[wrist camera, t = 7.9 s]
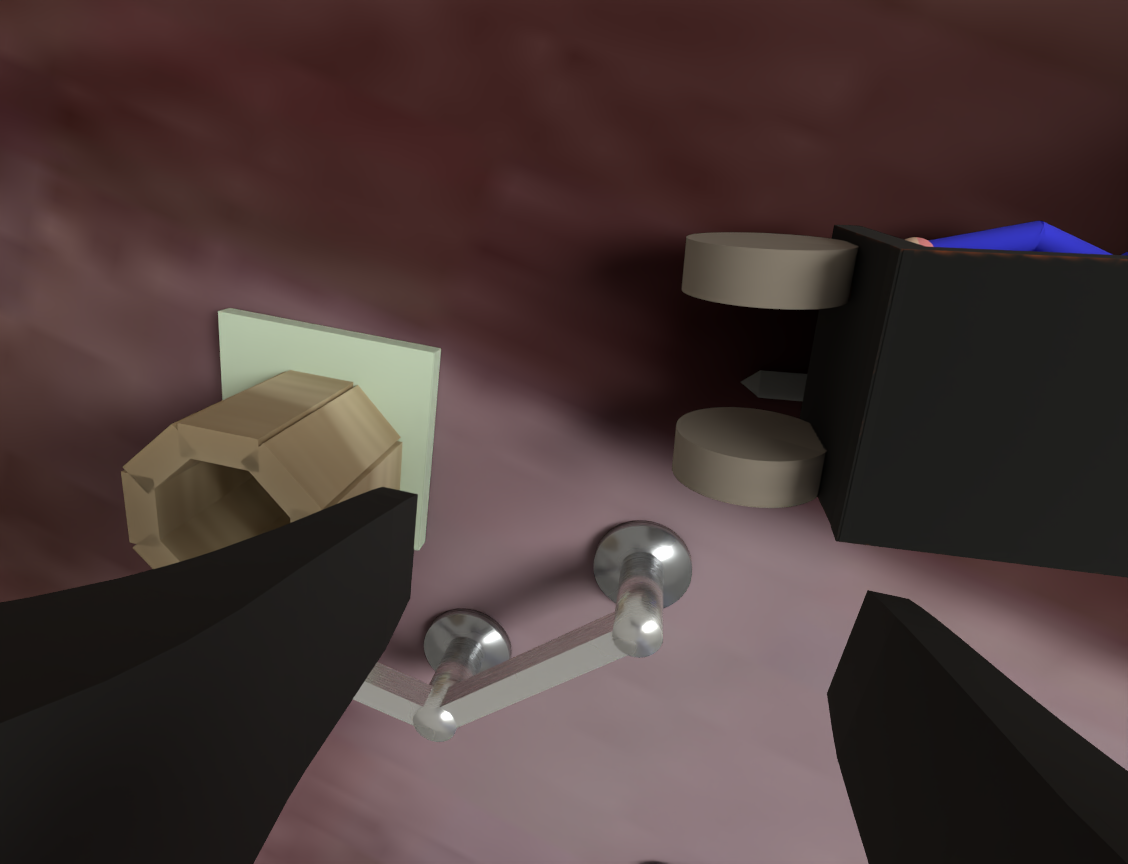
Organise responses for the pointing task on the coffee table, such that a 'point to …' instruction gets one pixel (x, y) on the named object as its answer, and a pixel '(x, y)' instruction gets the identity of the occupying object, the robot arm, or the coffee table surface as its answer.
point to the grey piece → (483, 650)
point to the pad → (376, 364)
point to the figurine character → (931, 392)
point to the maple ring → (256, 465)
